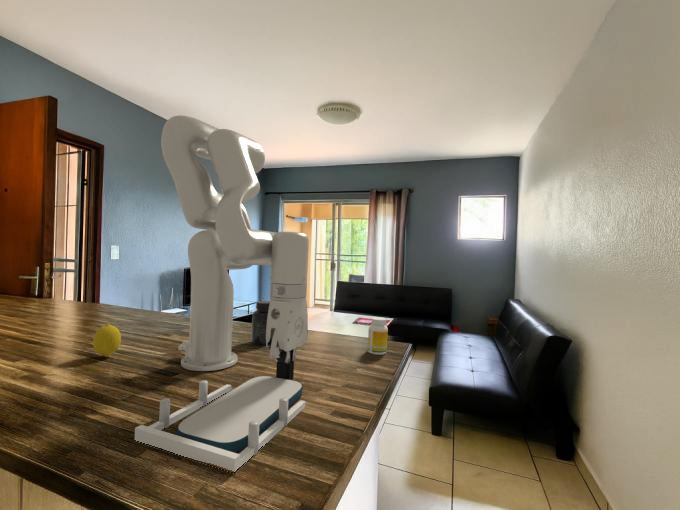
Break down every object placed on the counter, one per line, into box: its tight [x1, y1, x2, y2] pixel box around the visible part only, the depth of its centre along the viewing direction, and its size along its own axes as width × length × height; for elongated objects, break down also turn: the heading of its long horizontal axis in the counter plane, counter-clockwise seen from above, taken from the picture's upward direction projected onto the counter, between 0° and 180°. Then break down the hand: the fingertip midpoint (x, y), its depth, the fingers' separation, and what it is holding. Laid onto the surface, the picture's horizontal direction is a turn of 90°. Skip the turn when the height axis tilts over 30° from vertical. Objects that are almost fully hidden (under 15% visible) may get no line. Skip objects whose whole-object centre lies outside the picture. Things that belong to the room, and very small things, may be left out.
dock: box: [134, 379, 307, 472], centre depth 53 cm, size 17×20×4 cm
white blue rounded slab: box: [176, 375, 304, 453], centre depth 56 cm, size 24×12×2 cm, turn 162°
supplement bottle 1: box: [250, 300, 270, 346], centre depth 99 cm, size 7×7×12 cm
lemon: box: [92, 323, 122, 358], centre depth 80 cm, size 6×6×8 cm
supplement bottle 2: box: [367, 316, 389, 356], centre depth 94 cm, size 5×5×10 cm
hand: (284, 379), depth 69 cm, fingers closed
